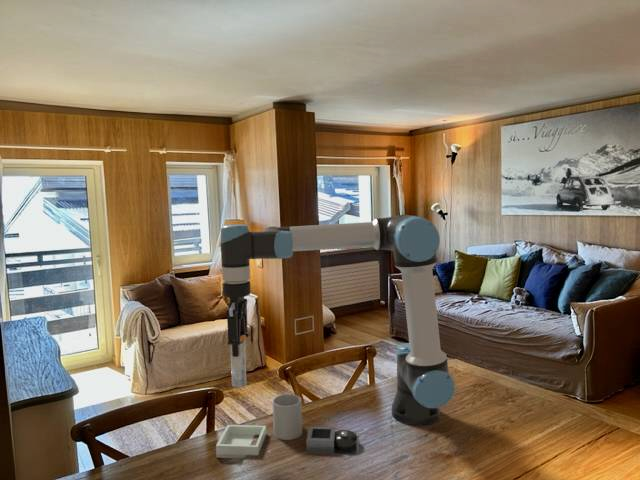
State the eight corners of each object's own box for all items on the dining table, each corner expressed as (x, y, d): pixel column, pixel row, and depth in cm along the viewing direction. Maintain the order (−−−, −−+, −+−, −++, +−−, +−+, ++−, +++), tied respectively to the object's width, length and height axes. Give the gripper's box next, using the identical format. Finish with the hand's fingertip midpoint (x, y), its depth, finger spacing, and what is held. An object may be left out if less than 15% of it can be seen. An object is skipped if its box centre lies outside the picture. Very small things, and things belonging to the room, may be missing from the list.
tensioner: (358, 438, 140) (358, 424, 139) (358, 458, 130) (358, 442, 129) (310, 437, 141) (309, 423, 140) (306, 456, 131) (305, 441, 131)
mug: (301, 443, 138) (300, 406, 137) (272, 443, 138) (270, 406, 137) (303, 422, 150) (302, 388, 149) (276, 423, 150) (275, 389, 149)
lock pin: (249, 381, 137) (247, 333, 135) (245, 388, 132) (243, 338, 131) (233, 381, 137) (231, 333, 136) (228, 387, 132) (226, 338, 131)
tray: (266, 436, 142) (266, 425, 141) (258, 458, 130) (257, 446, 130) (228, 435, 143) (227, 424, 142) (216, 457, 131) (215, 445, 131)
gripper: (231, 275, 140) (234, 352, 143) (213, 287, 123) (216, 375, 126) (256, 275, 140) (259, 353, 142) (241, 287, 123) (245, 375, 125)
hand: (239, 363), depth 134 cm, fingers closed on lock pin, 4 cm apart
